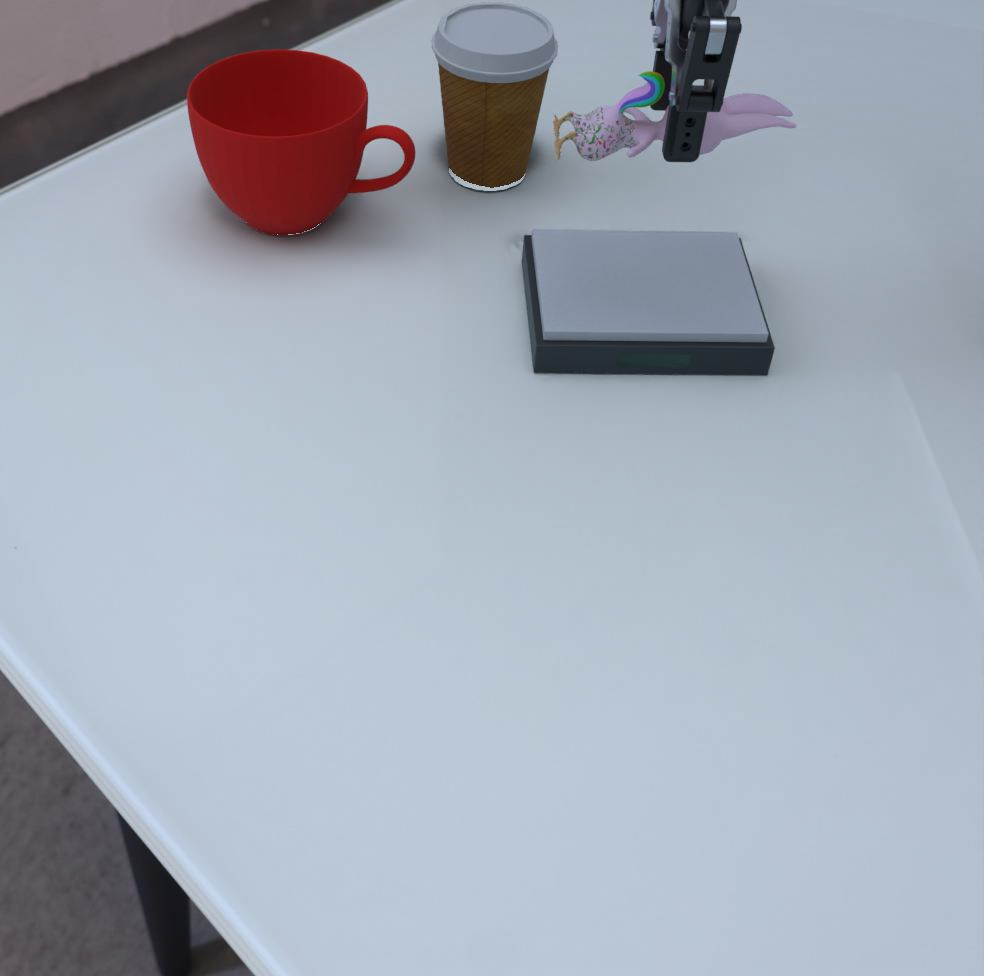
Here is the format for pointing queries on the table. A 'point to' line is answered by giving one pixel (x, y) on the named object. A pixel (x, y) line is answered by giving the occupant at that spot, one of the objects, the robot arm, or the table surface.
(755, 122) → the rabbit figure
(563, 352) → the scale
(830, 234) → the table surface
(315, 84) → the ceramic cup
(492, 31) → the disposable coffee cup
